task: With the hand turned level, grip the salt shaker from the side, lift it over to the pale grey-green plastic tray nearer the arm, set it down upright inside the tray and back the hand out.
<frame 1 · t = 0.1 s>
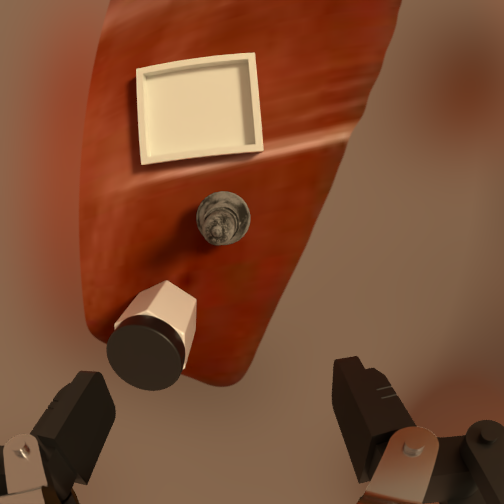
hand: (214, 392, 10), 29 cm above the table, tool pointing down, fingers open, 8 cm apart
tray: (199, 108, 34), on the table
jar: (167, 310, 41), on the table
salt shaker: (225, 213, 38), on the table
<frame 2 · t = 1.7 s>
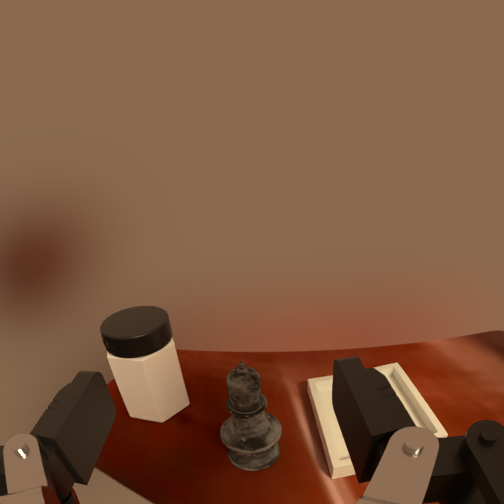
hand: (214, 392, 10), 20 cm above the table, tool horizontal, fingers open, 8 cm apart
tray: (370, 419, 29), on the table
jar: (158, 402, 36), on the table
salt shaker: (254, 452, 27), on the table
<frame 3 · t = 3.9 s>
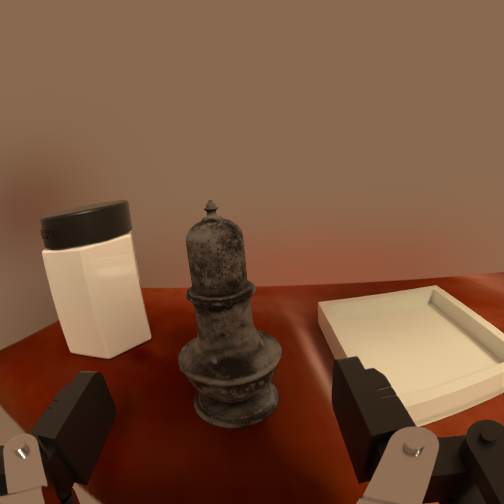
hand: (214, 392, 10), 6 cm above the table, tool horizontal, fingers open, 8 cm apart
tray: (414, 353, 20), on the table
jar: (111, 338, 27), on the table
salt shaker: (236, 401, 18), on the table
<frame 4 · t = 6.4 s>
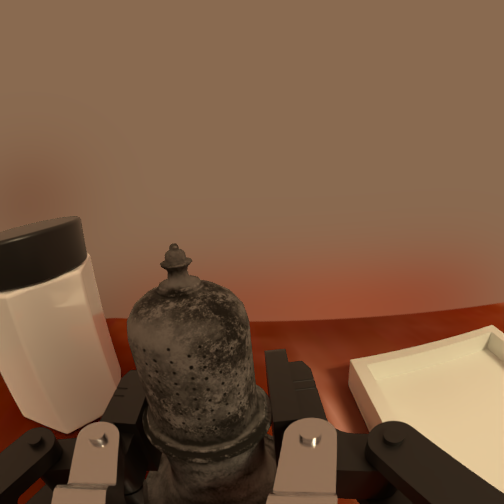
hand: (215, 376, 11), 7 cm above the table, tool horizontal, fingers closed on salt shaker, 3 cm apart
tray: (477, 429, 12), on the table
jar: (74, 396, 18), on the table
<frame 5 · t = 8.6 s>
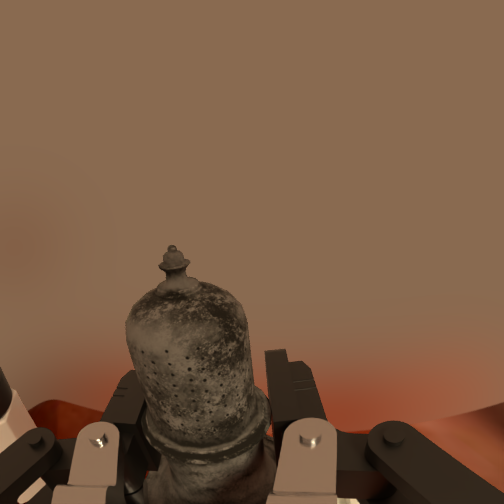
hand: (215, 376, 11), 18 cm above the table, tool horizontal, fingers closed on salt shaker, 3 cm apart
jar: (26, 474, 19), on the table
when the fingers open (8 cm above the table, at t = 10.9 s): salt shaker drops 1 cm, resting on tray.
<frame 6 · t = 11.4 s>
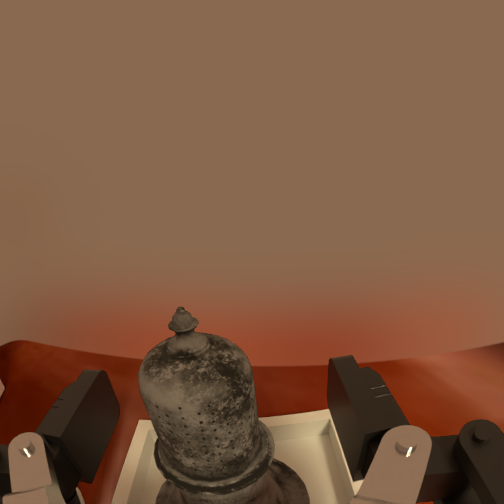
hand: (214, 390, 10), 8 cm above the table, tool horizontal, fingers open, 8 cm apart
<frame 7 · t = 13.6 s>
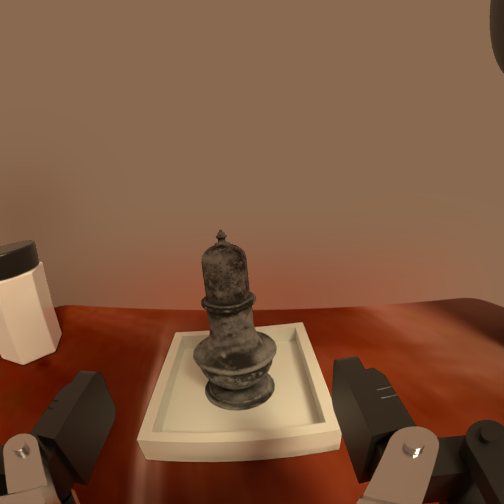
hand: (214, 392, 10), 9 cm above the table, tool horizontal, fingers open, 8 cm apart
tray: (240, 392, 23), on the table
jar: (32, 348, 29), on the table
salt shaker: (240, 389, 22), resting on tray
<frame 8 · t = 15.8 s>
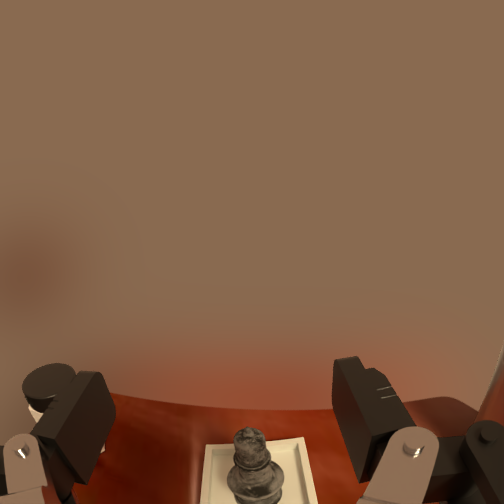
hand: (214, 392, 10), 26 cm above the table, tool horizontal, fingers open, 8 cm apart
tray: (258, 494, 27), on the table
jar: (81, 444, 34), on the table
salt shaker: (258, 494, 27), resting on tray
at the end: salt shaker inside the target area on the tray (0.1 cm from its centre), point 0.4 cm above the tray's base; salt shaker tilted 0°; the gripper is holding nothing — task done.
